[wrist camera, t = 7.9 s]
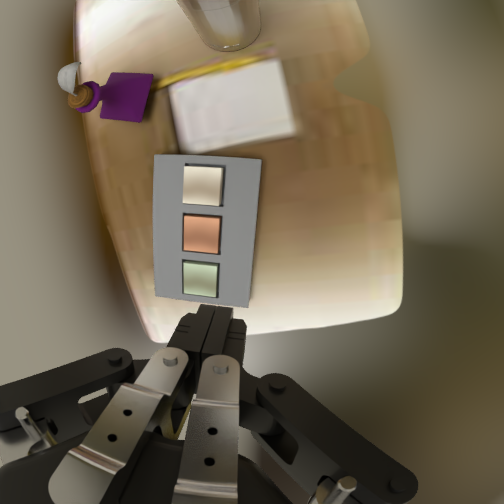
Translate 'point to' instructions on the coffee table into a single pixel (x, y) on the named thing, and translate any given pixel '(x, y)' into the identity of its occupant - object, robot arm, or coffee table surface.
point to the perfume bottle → (108, 94)
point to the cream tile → (203, 185)
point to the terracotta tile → (202, 233)
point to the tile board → (231, 209)
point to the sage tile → (201, 278)
